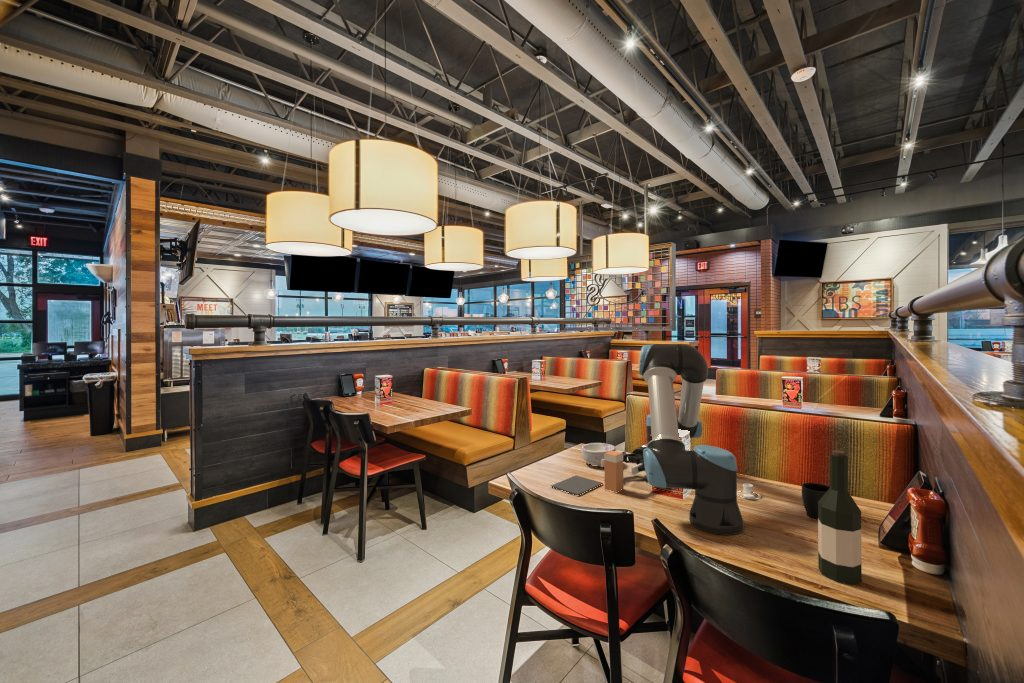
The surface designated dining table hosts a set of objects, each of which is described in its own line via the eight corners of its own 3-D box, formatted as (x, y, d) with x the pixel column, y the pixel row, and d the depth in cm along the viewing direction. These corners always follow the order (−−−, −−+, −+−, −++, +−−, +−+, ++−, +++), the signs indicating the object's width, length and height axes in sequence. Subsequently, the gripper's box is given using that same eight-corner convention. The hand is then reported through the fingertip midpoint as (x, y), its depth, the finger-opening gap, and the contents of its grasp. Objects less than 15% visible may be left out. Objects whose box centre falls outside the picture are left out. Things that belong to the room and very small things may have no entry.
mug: (841, 530, 124) (841, 498, 124) (796, 515, 134) (796, 485, 134) (853, 523, 128) (853, 492, 128) (809, 509, 139) (809, 480, 138)
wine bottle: (858, 589, 96) (858, 459, 95) (814, 574, 102) (814, 452, 101) (864, 574, 102) (863, 451, 101) (821, 561, 108) (821, 445, 107)
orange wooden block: (623, 489, 159) (623, 453, 159) (616, 493, 156) (615, 455, 155) (612, 486, 163) (611, 450, 162) (604, 490, 159) (604, 453, 159)
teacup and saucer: (753, 503, 145) (753, 491, 145) (730, 496, 152) (730, 485, 152) (765, 496, 151) (765, 485, 151) (742, 490, 157) (742, 479, 157)
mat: (602, 484, 165) (602, 482, 165) (578, 496, 153) (578, 494, 153) (576, 477, 174) (576, 475, 174) (550, 487, 163) (550, 485, 163)
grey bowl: (575, 461, 194) (574, 444, 194) (602, 457, 200) (602, 440, 200) (594, 471, 180) (593, 453, 180) (623, 466, 186) (622, 448, 186)
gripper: (673, 470, 167) (646, 485, 152) (618, 458, 185) (589, 469, 170) (673, 452, 167) (646, 464, 152) (618, 441, 185) (589, 451, 170)
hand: (616, 467), depth 161 cm, fingers open, 13 cm apart
